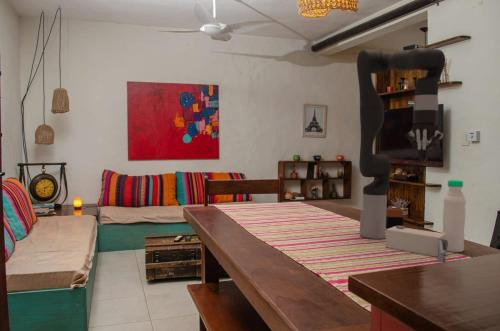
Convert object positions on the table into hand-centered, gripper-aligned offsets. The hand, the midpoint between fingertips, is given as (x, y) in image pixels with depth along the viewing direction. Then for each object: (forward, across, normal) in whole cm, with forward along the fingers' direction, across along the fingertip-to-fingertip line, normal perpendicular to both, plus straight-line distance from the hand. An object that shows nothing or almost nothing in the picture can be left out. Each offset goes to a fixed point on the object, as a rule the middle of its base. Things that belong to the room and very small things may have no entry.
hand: (422, 160), depth 136 cm
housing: (+32, -3, +3) cm, 32 cm away
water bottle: (+32, +5, +14) cm, 35 cm away
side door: (+31, +11, -7) cm, 34 cm away
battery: (+33, -28, +29) cm, 52 cm away
